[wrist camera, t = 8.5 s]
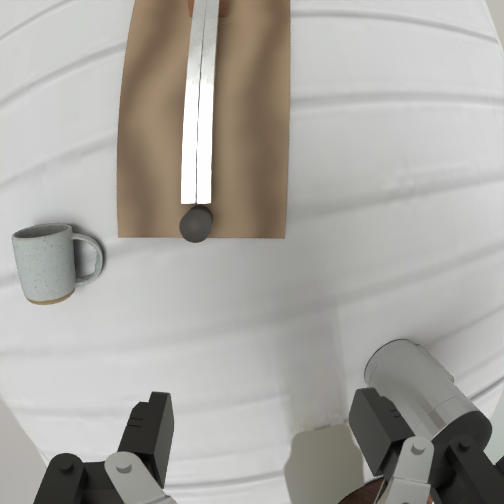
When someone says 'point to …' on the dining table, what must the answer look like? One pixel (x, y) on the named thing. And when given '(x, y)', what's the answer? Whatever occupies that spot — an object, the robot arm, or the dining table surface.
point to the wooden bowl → (368, 494)
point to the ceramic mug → (50, 262)
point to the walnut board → (224, 130)
